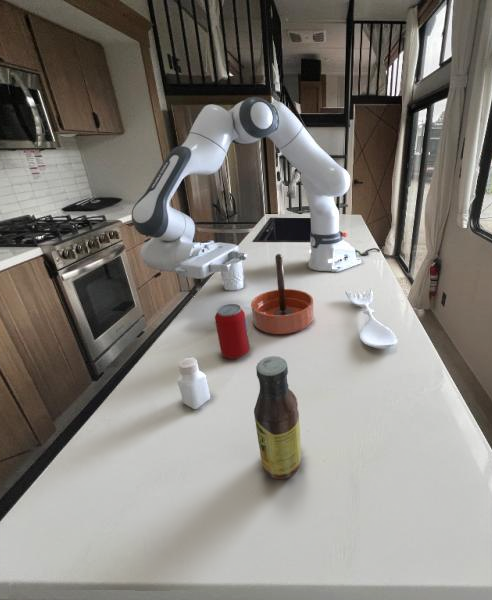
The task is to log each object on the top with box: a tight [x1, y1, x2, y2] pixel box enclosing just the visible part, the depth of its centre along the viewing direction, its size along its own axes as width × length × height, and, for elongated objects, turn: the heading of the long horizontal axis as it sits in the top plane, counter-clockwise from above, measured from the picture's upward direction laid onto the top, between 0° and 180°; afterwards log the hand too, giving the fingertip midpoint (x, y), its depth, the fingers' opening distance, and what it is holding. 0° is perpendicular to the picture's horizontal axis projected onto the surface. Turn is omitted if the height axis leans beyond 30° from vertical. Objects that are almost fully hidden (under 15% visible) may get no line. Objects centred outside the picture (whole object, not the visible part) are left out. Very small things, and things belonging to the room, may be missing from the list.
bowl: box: [250, 288, 315, 335], centre depth 92 cm, size 17×17×6 cm
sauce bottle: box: [253, 355, 302, 480], centre depth 47 cm, size 6×6×20 cm
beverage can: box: [214, 303, 250, 359], centre depth 76 cm, size 7×7×12 cm
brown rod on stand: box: [274, 253, 293, 315], centre depth 89 cm, size 5×5×19 cm
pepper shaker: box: [177, 356, 211, 410], centre depth 62 cm, size 4×4×10 cm
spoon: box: [345, 288, 398, 349], centre depth 91 cm, size 9×32×4 cm, turn 5°
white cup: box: [220, 258, 245, 291], centre depth 114 cm, size 8×8×10 cm
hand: (237, 261), depth 89 cm, fingers open, 8 cm apart
